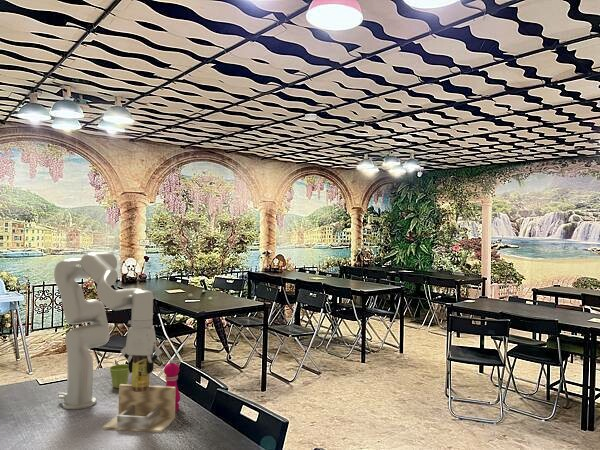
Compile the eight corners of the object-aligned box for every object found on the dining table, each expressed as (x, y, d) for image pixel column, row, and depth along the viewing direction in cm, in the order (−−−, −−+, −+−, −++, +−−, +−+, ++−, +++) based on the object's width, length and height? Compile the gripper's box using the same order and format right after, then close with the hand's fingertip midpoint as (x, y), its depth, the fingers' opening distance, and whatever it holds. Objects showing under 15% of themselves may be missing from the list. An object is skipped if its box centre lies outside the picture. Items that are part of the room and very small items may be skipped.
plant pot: (125, 389, 210) (126, 370, 210) (105, 389, 210) (105, 369, 210) (133, 383, 219) (134, 364, 220) (113, 382, 220) (114, 364, 220)
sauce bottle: (138, 393, 169) (139, 338, 169) (127, 390, 172) (128, 336, 172) (153, 388, 174) (154, 335, 175) (142, 385, 178) (142, 333, 178)
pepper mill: (175, 413, 183) (176, 362, 183) (158, 411, 184) (159, 361, 185) (183, 406, 190) (184, 357, 191) (166, 405, 192) (167, 356, 192)
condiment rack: (102, 429, 168) (103, 395, 168) (120, 415, 181) (120, 384, 181) (161, 432, 165) (162, 398, 166) (175, 418, 178) (175, 386, 179)
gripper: (114, 325, 171) (113, 374, 171) (160, 326, 169) (159, 376, 169) (124, 321, 178) (123, 368, 178) (168, 322, 177) (167, 370, 176)
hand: (141, 371), depth 173 cm, fingers closed on sauce bottle, 6 cm apart
